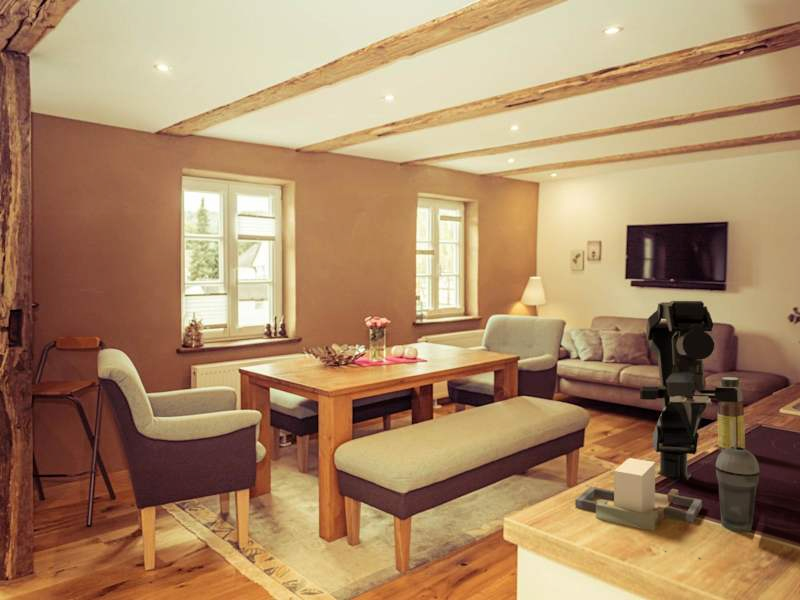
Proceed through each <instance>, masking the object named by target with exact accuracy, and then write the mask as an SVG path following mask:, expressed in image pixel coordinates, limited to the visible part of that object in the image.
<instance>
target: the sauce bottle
mask: <svg viewBox="0 0 800 600" xmlns="http://www.w3.org/2000/svg"><path fill="white" fill-rule="evenodd" d="M739 384H740V380H739V378H738V377H733V376H731V377H730V376H728V377H727V376H726V377H721V385H722V386H721V387H739ZM744 411H745V409H744V403H743V401H740V402H719V401H718V405H717V441H718V442H717V445H718V448H719V449H718V450H719V452H720V453H721V452H722V451H723V450H725V449H726V448H729V447H733V439H732V426H731V422H734V424H735V437H736V447H741V448H744V449H745V448H746V436H745V435H746V434H745V433H746V432H745V431H746V430H745V413H744Z"/></svg>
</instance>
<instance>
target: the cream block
mask: <svg viewBox="0 0 800 600" xmlns="http://www.w3.org/2000/svg"><path fill="white" fill-rule="evenodd" d="M613 472H614V473H613V478H614V479H613V482H614V483H613V491H614V500H613V504H614V506H616V507H620V508H625V509H630V510H634V511H639V512H644V513H649V512H650V511H651V510H653V509H654V508H655V493H656V462H655V461H651V460H650V461H649V460H644V459H638V458H631V457H628V458H627V459H626V460H625V461H624V462H623V463H622V464H620V465H619V466H618V467H617V468H616V469H614V471H613Z"/></svg>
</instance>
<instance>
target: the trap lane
mask: <svg viewBox="0 0 800 600" xmlns="http://www.w3.org/2000/svg"><path fill="white" fill-rule="evenodd" d="M594 498H599V499H600V500H599V501H595V500H593V499H594ZM608 501H614V490H609V489H605V488H599V487H595V486H590V487H589V488H588V489H586V490H585V491H584V492H583V493H581V494H580V495H579V496H578V497H577V498H575V501H574V502H575V504H574V505H575V508H578V509H581V510H587V511H591V512H594V513H595V518H596V519H599V520H604V521H606V522H607V521H608V522H611V523H616V524H622V525H626V526H630V527H635V528H639V529H643V530H647V531H652V532H654V531H655V530H656V529H657V527H658V525H660V523H661V522H662V520H663V519H664V518H668V519H673V520H677V521H681V522H687V523H692V524H693V523H694V521H695V520H696V518H697V516H698V515H699V513H700V511H701V509H702V508H703V500H702V499H699V498H694V497H690V496H684V495H679V489H676V488H671V489H670V491H669V492H668V493H667V494H664V493H660V492H655V508H654V509H653V510H651V511H650V512H649V513H644V512H639V511H634V510H630V509H625V508H620V507H616V506H614V503H613V504H612V505H611V504H608ZM670 504H673V505H677V506H682V507H687V508H688V509H687V510H683V509H678V508H673V507H669V506H670Z"/></svg>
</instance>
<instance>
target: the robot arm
mask: <svg viewBox="0 0 800 600" xmlns="http://www.w3.org/2000/svg"><path fill="white" fill-rule="evenodd" d="M662 320H665V321H666V322H664V321H663V322H662ZM646 323H647V324H646V329H645V330H646V331H645V336H646V337H645V338H646V341H648V344H649V349H650V351H651V352H652V353H653V354H654V356H656V357H657V365H658V373H659V385H644V386H641V388H640V389H639V399H640V400H648V401H649V400H650V401H651V400H652V401H656V400H657V399H661V405H662V412H661V414H660V416H659V418H658V420H657V421H656V422H657V423H656V425H655V428H654V430H653V435H652V447H653V450H655V452H656V453H659V461H660V462H659V463H660V464H659V471H658V472H656V475H658V476H659V475H660V476H663V477H664V478H671V479H681V480H690V478H691V477H692V473H689V472H688V455H689V454H690V455H696V453H697V452H698V451H697V449H698V443H699V439H700V434H699V433H698V431H697V430H698V426H699V424H700V422H701V418H702V416H703V414H704V412H705V410H706V407H707V406H710V405H713V402H712V401H711V399H716V400H717V401H718V403H719V402H740V401H742V402H743V401H744V397H743V395H744V394H743V391H742V389H741V388H740V387H739V386H738V387H722V386H717V387H715V389H706V387H707V382H706V380H707V379H706V376H705V374H704V370H705V365H704V360H705V359H707V358H709V357H710V356H711V355H712V354H713V351H714V349H715V342H714V340H713V337H712V336H711V335H710V334H709V333H711V332H712V330H713V327H714V322H713V319H712V317H711V312H710V311H709V310H708V306H707V305H705V304H704V302H703V300H670V301H669V302H668V301H667V302H661V303H658V304H657V309H656V311H654V312H653V313H652V314H651V315H650V316H649V317H648V318H647V321H646ZM696 391H697V392H696ZM687 399H692V400H693V401H692V402H691V401H690V400H687Z"/></svg>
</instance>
